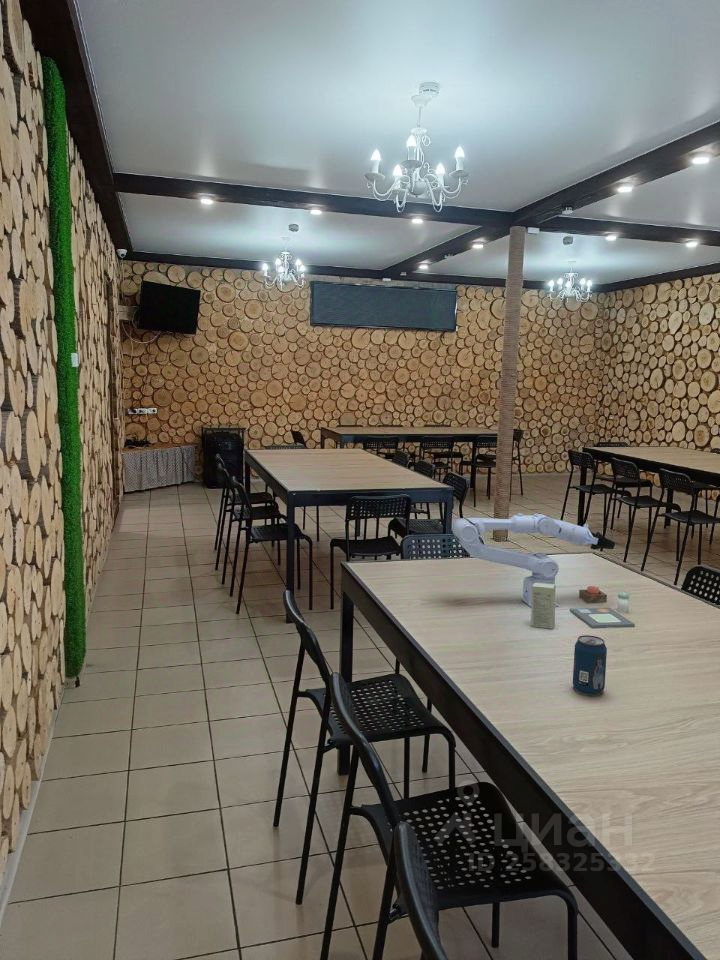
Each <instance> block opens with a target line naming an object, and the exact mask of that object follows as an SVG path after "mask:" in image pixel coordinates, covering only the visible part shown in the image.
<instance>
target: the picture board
mask: <svg viewBox="0 0 720 960" xmlns="http://www.w3.org/2000/svg"><path fill="white" fill-rule="evenodd" d="M569 612H570V613H571V614H573V615H574V616H575V617H577V618H578V619H579V620H581V621H582V622H583V623H585V624H586V625H587V626H589V627H590V628H591V629H600V628H601V629H606V627H613V628H635V625H636V624H635V623H634V622H632V621H631V620H629V619H628V618H626V617H625V616H623V615H622V614H620V612H618V611H616V610H614V609H613V608H611V607H589V608H588V607H587V608H569Z"/></svg>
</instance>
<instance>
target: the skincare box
mask: <svg viewBox="0 0 720 960" xmlns="http://www.w3.org/2000/svg"><path fill="white" fill-rule="evenodd" d="M556 586H557V585H556V583H555V584H545V583H534V584H533V585H532V606H531V607H530V608H531V613H530V614H531V617H530V618H531V619H530V623H531V624H530V625H531V627H535V628H541V629H554V628H555V627H554V626H555V625H556V623H555V622H556V621H555V620H556V606H555V602H556Z"/></svg>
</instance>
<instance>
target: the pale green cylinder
mask: <svg viewBox="0 0 720 960" xmlns="http://www.w3.org/2000/svg"><path fill="white" fill-rule="evenodd" d="M629 599H630V592H628V591H626V590H625V591H624V590H620V591H618V592H617V609H616V610H617V611H616V612H618V611H619V612H618V613H621V612H622V613H621V614H627V613H629V612H628V611H629Z"/></svg>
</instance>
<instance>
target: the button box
mask: <svg viewBox="0 0 720 960" xmlns="http://www.w3.org/2000/svg"><path fill="white" fill-rule="evenodd" d="M578 590H579V591H578V592H579V593H578V598H579V599H581V600H583V601H584V602H585V603H587V604H597V603H598V604H599V603H601V604H604V602H608V600H607V599H608V594H606V593H604V592H603V591H602V590H600V589H599V594H588V593H587V589H578Z"/></svg>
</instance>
